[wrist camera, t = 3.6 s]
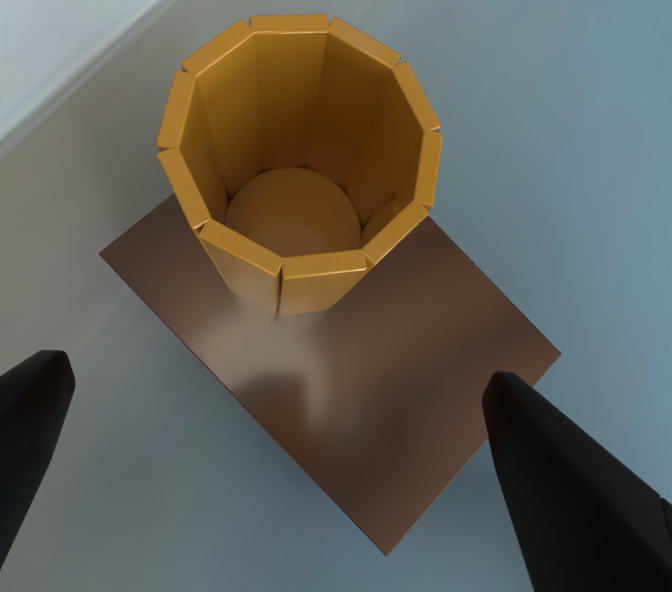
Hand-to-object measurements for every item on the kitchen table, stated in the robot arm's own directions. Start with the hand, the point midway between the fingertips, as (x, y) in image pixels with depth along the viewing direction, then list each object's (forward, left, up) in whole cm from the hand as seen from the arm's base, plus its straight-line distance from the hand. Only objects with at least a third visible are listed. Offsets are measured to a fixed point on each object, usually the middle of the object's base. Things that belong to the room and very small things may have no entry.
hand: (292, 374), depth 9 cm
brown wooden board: (0, -3, -12) cm, 12 cm away
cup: (+4, -4, -8) cm, 9 cm away
